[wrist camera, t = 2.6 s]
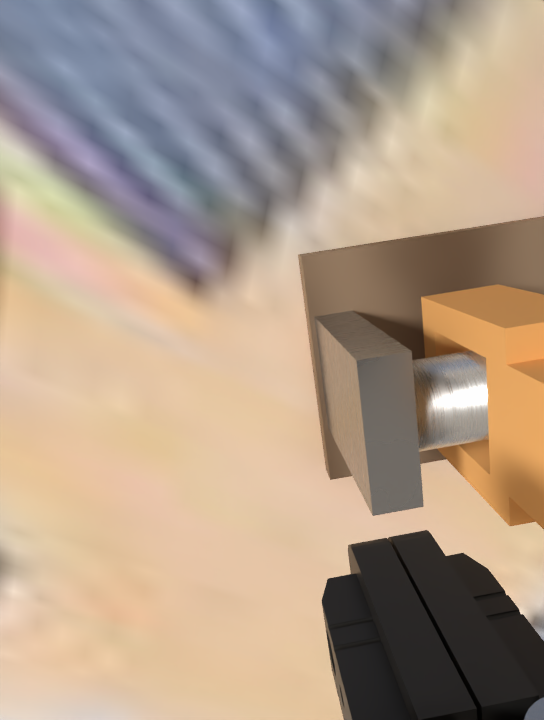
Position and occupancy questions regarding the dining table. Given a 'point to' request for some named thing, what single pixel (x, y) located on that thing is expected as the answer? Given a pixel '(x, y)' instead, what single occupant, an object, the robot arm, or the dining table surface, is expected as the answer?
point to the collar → (499, 391)
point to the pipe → (395, 406)
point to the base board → (413, 288)
